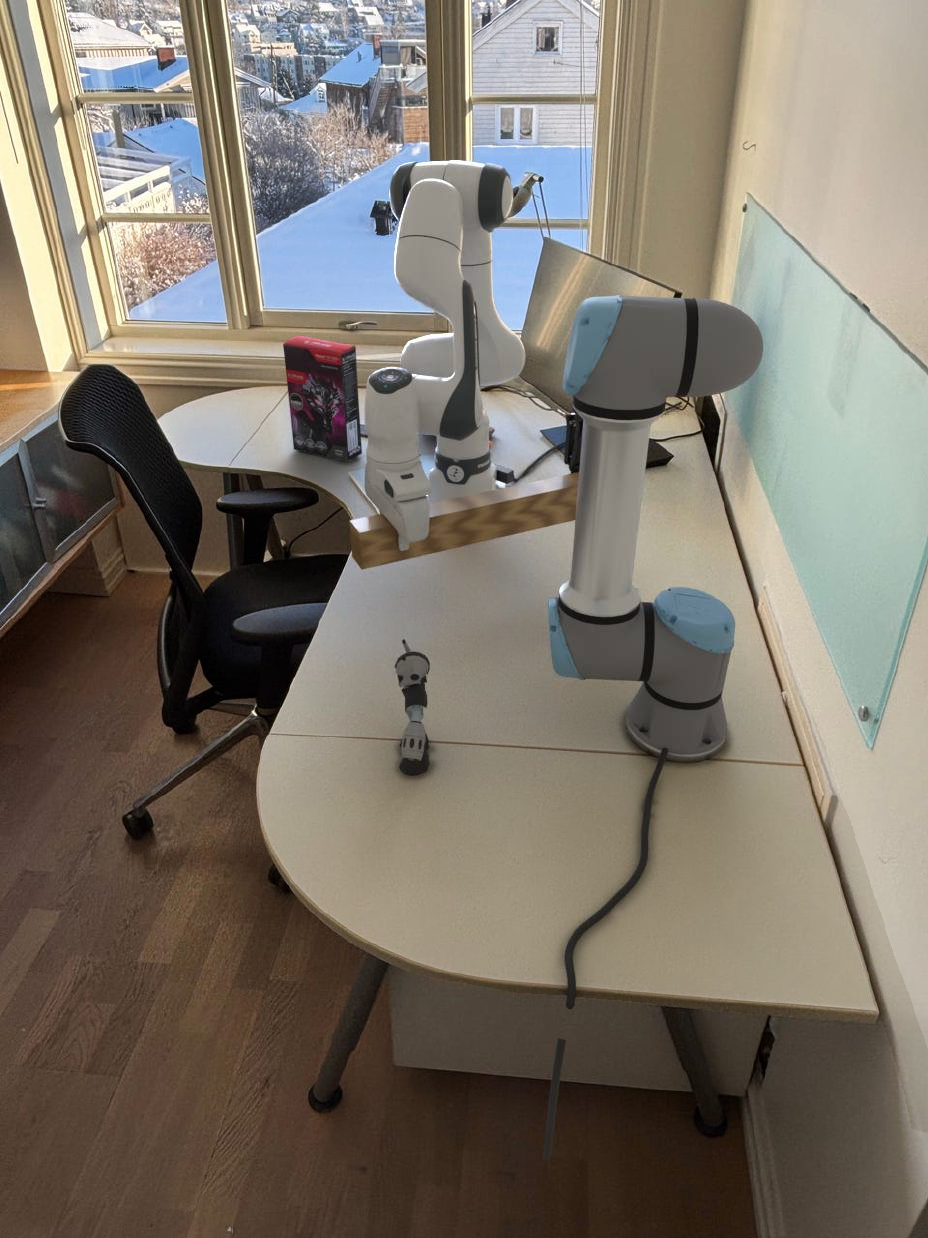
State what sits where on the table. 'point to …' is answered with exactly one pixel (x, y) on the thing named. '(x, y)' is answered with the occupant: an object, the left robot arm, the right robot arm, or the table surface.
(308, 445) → the graphics card box
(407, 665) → the robot
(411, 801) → the table surface
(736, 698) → the table surface
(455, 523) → the post
